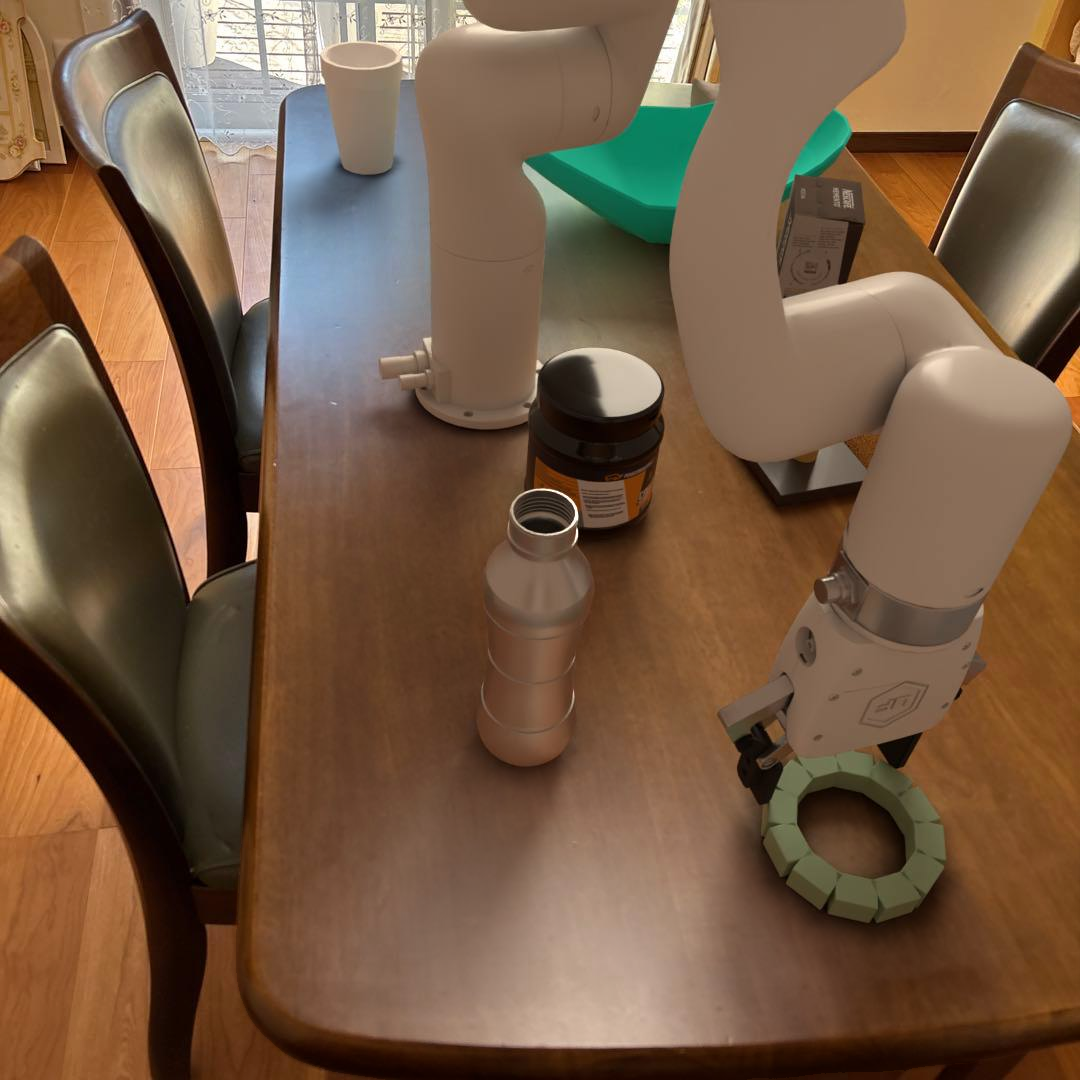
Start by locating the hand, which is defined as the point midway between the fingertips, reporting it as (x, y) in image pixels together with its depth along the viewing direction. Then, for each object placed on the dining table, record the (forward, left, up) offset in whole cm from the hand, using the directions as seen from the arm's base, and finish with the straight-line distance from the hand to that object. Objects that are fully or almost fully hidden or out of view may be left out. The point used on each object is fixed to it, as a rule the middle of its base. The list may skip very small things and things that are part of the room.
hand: (820, 766), depth 65 cm
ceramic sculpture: (+42, +97, -2) cm, 106 cm away
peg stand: (+15, +29, -2) cm, 33 cm away
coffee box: (+23, +46, -2) cm, 52 cm away
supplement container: (-5, +29, -2) cm, 30 cm away
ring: (0, -4, -2) cm, 4 cm away
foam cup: (-10, +96, -2) cm, 97 cm away
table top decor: (+20, +73, -2) cm, 76 cm away
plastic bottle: (-17, +8, -2) cm, 19 cm away
